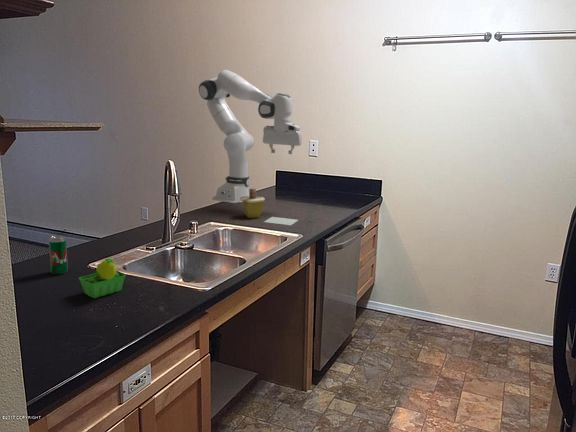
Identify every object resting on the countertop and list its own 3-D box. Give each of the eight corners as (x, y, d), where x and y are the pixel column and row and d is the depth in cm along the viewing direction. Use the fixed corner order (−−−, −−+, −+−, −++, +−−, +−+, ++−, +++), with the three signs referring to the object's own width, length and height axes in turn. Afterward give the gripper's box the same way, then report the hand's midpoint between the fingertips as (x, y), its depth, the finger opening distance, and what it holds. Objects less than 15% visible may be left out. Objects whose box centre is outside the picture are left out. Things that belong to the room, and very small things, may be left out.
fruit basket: (113, 283, 152) (112, 249, 149) (129, 291, 146) (128, 255, 144) (78, 293, 143) (76, 257, 141) (94, 302, 138) (92, 264, 135)
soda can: (63, 268, 163) (61, 234, 160) (71, 272, 160) (68, 237, 157) (48, 272, 159) (45, 237, 156) (55, 276, 156) (53, 240, 153)
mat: (263, 222, 235) (263, 221, 235) (272, 217, 246) (272, 216, 246) (291, 226, 231) (291, 225, 231) (298, 220, 242) (298, 219, 242)
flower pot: (263, 219, 243) (264, 201, 241) (246, 220, 240) (247, 202, 237) (258, 215, 251) (258, 198, 249) (241, 216, 247) (242, 198, 245)
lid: (236, 201, 239) (236, 190, 238) (246, 196, 250) (246, 186, 249) (259, 203, 236) (259, 192, 234) (268, 199, 247) (268, 188, 245)
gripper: (261, 125, 249) (260, 152, 252) (299, 127, 243) (298, 155, 246) (265, 125, 255) (265, 151, 258) (303, 127, 249) (301, 154, 252)
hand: (281, 153), depth 252 cm, fingers open, 8 cm apart
